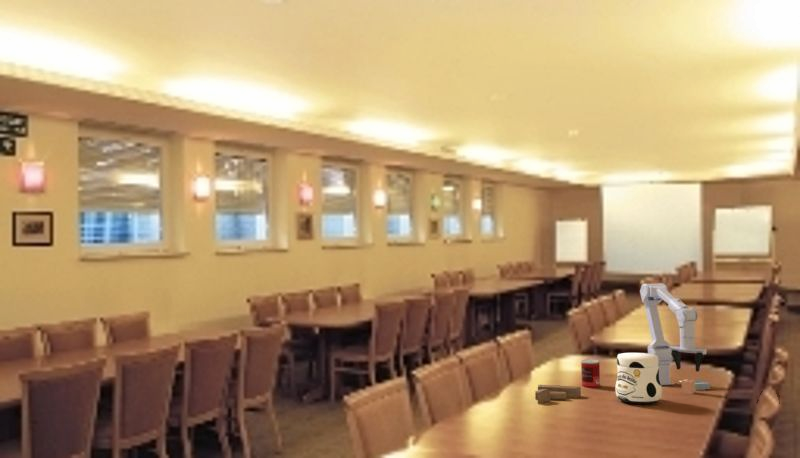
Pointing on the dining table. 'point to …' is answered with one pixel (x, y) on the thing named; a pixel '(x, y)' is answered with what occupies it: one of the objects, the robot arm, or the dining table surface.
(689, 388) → the top brick
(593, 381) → the canned food
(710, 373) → the dining table surface
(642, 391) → the milk container
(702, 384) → the base brick
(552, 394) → the wooden block set
